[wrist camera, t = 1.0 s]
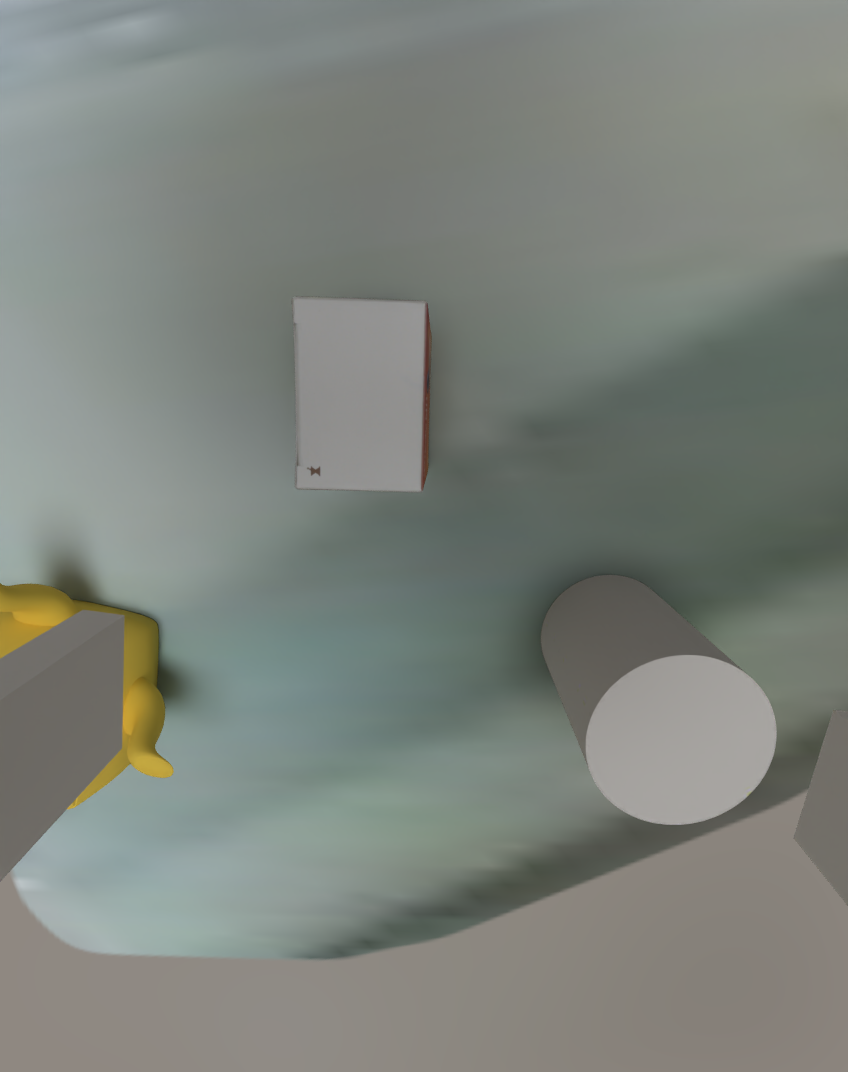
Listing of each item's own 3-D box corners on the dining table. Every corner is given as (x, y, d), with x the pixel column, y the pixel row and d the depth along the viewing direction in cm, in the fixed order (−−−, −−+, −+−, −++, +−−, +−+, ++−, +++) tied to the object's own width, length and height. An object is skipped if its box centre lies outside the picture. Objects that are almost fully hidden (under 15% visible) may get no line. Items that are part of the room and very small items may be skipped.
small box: (429, 470, 36) (424, 498, 26) (335, 467, 36) (292, 493, 26) (433, 329, 34) (430, 298, 24) (334, 326, 34) (289, 293, 24)
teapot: (-77, 644, 39) (-240, 721, 30) (78, 516, 37) (-46, 555, 28) (79, 803, 42) (-27, 922, 32) (233, 691, 39) (168, 783, 30)
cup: (551, 706, 39) (599, 837, 27) (531, 588, 37) (572, 673, 26) (678, 684, 38) (783, 808, 27) (663, 563, 37) (768, 639, 25)
